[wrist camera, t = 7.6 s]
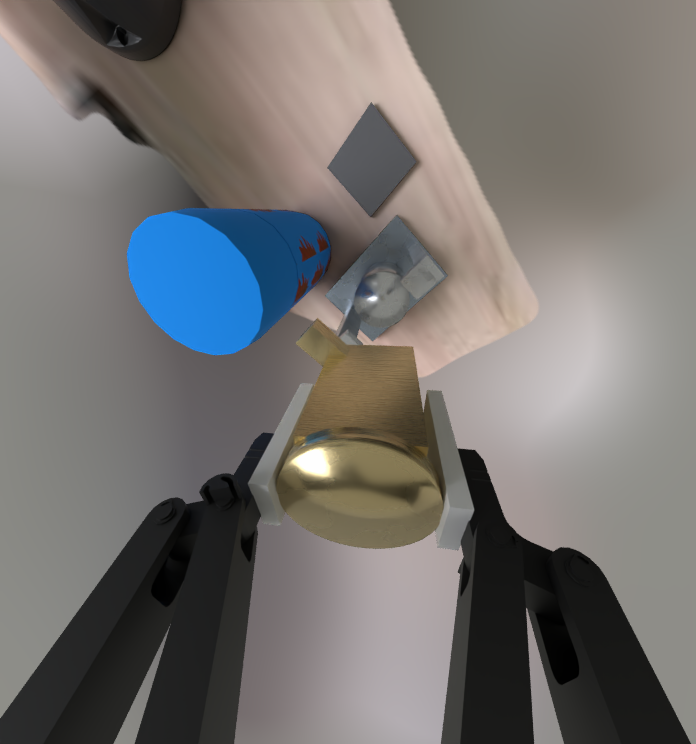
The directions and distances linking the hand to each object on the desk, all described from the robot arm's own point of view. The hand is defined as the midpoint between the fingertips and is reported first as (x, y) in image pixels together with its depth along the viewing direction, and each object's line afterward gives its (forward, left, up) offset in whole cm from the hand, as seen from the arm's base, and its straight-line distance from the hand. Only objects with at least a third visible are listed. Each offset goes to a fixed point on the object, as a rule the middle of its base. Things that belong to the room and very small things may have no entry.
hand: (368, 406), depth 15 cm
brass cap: (0, 0, -3) cm, 3 cm away
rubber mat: (-12, +9, -31) cm, 34 cm away
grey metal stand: (0, 0, -31) cm, 31 cm away
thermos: (-13, -6, -31) cm, 34 cm away
